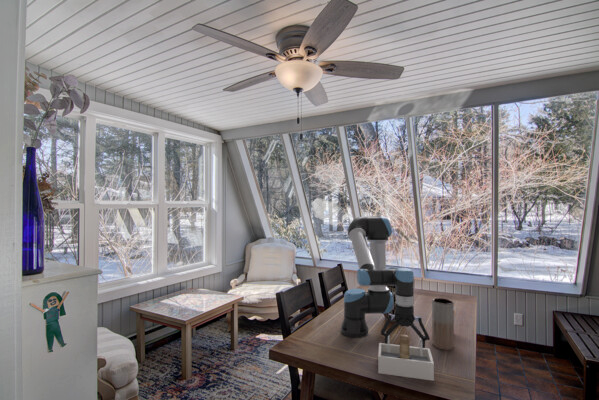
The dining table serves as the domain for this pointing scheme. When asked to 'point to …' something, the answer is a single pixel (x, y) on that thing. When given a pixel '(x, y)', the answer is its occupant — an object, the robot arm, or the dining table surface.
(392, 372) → the box
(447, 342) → the planter
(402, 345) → the dowel
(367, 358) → the dining table surface
